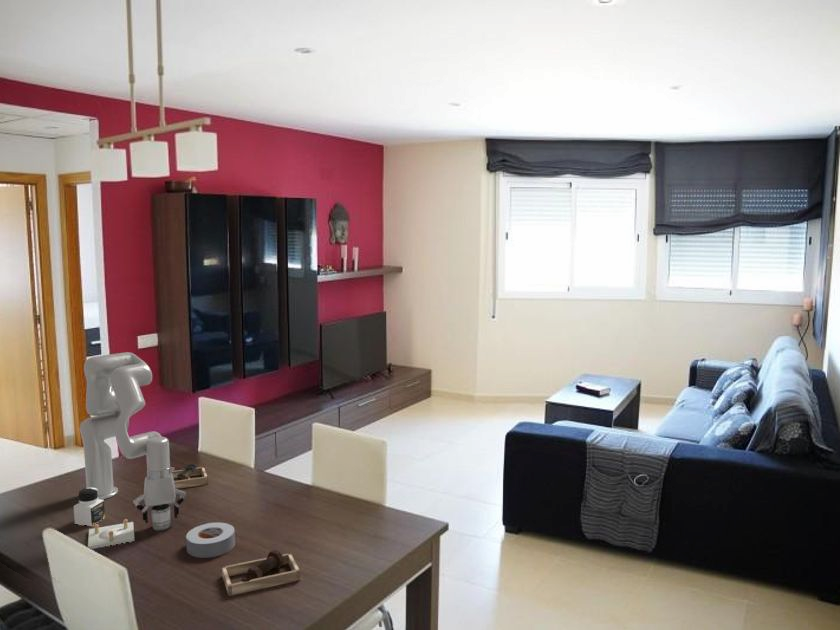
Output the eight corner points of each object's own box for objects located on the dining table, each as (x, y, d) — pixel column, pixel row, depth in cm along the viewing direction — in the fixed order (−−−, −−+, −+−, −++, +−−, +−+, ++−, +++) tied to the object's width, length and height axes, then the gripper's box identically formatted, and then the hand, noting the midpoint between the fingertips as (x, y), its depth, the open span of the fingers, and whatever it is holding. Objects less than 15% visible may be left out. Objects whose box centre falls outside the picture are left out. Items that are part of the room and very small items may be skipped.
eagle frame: (164, 479, 276) (163, 472, 275) (204, 473, 282) (203, 466, 282) (166, 490, 264) (166, 483, 263) (208, 484, 271) (207, 477, 270)
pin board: (89, 531, 228) (88, 520, 227) (133, 524, 234) (132, 513, 233) (88, 549, 215) (87, 537, 215) (134, 541, 221) (133, 529, 221)
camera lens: (159, 532, 228) (158, 510, 227) (148, 528, 231) (147, 506, 230) (174, 525, 233) (173, 504, 232) (163, 521, 236) (162, 500, 235)
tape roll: (190, 562, 208) (189, 547, 207) (183, 542, 221) (182, 527, 221) (239, 551, 215) (239, 537, 214) (230, 532, 228) (229, 518, 228)
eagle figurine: (196, 481, 270) (200, 470, 279) (185, 469, 268) (190, 458, 276) (180, 491, 271) (186, 479, 279) (169, 478, 268) (175, 467, 277)
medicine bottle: (92, 526, 232) (90, 494, 230) (74, 524, 233) (72, 492, 232) (105, 518, 239) (103, 486, 237) (88, 516, 240) (86, 484, 239)
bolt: (242, 593, 192) (275, 568, 206) (253, 589, 190) (286, 564, 203) (234, 575, 193) (267, 551, 206) (245, 571, 191) (278, 547, 204)
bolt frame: (222, 576, 200) (221, 566, 199) (290, 561, 208) (290, 552, 208) (228, 596, 189) (228, 586, 188) (300, 580, 198) (300, 570, 197)
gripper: (183, 465, 236) (185, 510, 239) (131, 472, 229) (134, 519, 231) (186, 472, 230) (188, 518, 232) (132, 480, 222) (134, 528, 225)
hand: (161, 519), depth 232 cm, fingers open, 9 cm apart
